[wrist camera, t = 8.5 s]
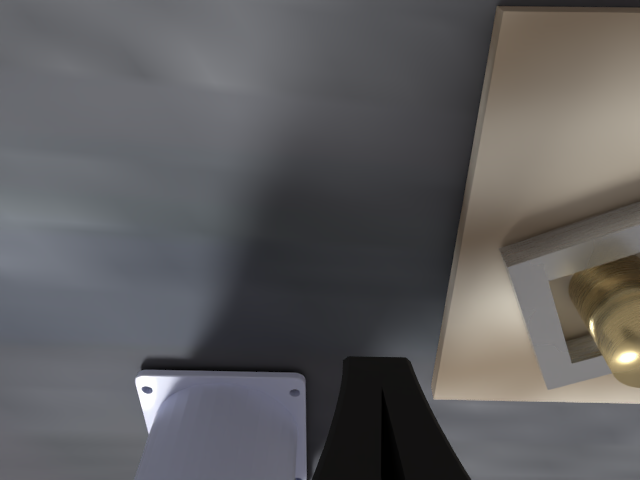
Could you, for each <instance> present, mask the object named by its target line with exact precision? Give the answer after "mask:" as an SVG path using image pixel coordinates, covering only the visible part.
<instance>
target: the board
mask: <svg viewBox="0 0 640 480" xmlns="http://www.w3.org/2000/svg"><path fill="white" fill-rule="evenodd" d="M639 201H640V8H636V7H537V6H497V8H496V14H495V20H494V25H493V31H492V37H491V43H490V48H489V54H488V60H487V66H486V72H485V77H484V83H483V89H482V95H481V100H480V106H479V112H478V118H477V124H476V129H475V135H474V141H473V147H472V153H471V158H470V164H469V170H468V176H467V181H466V187H465V193H464V199H463V205H462V210H461V216H460V222H459V228H458V233H457V239H456V245H455V251H454V257H453V262H452V268H451V274H450V280H449V285H448V291H447V297H446V303H445V309H444V314H443V320H442V326H441V332H440V338H439V343H438V349H437V355H436V361H435V366H434V372H433V378H432V384H431V388H432V393H433V398H434V399H443V400H492V401H541V402H590V403H638V404H640V388H635V387H630V386H627V385H625V384H623V383H621V382H619V381H618V380H617V379H616V378H615V377H614V375H613V374H608V375H604V376H600V377H597V378H593V379H589V380H585V381H581V382H578V383H574V384H570V385H566V386H562V387H559V388H555V389H551V390H548V389H547V387H546V385H545V382H544V380H543V377H542V375H541V373H540V370H539V367H538V364H537V361H536V358H535V355H534V352H533V349H532V346H531V343H530V340H529V337H528V334H527V331H526V328H525V325H524V322H523V319H522V316H521V313H520V310H519V307H518V304H517V301H516V299H515V296H514V293H513V290H512V287H511V284H510V281H509V278H508V275H507V272H506V269H505V266H504V263H503V260H502V257H501V254H500V251H499V248H502V247H504V246H507V245H510V244H513V243H516V242H519V241H522V240H525V239H528V238H531V237H534V236H537V235H540V234H543V233H546V232H549V231H552V230H555V229H558V228H561V227H564V226H567V225H570V224H573V223H576V222H579V221H582V220H585V219H588V218H591V217H594V216H597V215H600V214H603V213H606V212H609V211H612V210H615V209H618V208H621V207H624V206H627V205H630V204H633V203H636V202H639ZM634 255H636V256H638V257H639V258H640V253H637V254H634ZM573 275H574V273H573V274H570V275H567V276H563V277H560V278H557V279H554V280H551V281H548V282H549V285H550V289H551V292H552V296H553V299H554V303H555V306H556V310H557V313H558V317H559V320H560V324H561V327H562V331H563V335H564V338H565V342H566V341H569V340H573V339H576V338H580V337H583V336H587V335H590V333H589V331H588V329H587V327H586V326H585V324H584V322H583V320H582V319H581V317H580V315H579V313H578V311H577V310H576V308H575V306H574V304H573V303H572V301H571V299H570V297H569V292H568V287H569V283H570V280H571V278H572V276H573Z"/></svg>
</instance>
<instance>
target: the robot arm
mask: <svg viewBox="0 0 640 480" xmlns="http://www.w3.org/2000/svg"><path fill="white" fill-rule="evenodd" d="M135 384H136V388H137V392H138V395H139V399H140V403H141V407H142V410H143V414H144V418H145V422H146V426H147V429H148V433H149V436H148V439H147V442H146V445H145V448H144V451H143V454H142V457H141V460H140V463H139V466H138V469H137V472H136V475H135V478H134V480H307V449H306V380H305V377H304V376H303V375H301V374H299V373H289V372H239V371H189V370H141V371H139V372H138V373H137V375H136V378H135ZM147 386H148V387H147ZM293 389H296V390H293ZM312 480H471V478H470V477H469V475H468V474H467V472H466V471H465V469H464V467H463V466H462V464H461V462H460V461H459V459H458V457H457V456H456V454H455V452H454V451H453V449H452V447H451V445H450V443H449V442H448V440H447V438H446V436H445V434H444V433H443V431H442V429H441V427H440V425H439V424H438V422H437V420H436V418H435V416H434V414H433V412H432V410H431V408H430V406H429V404H428V402H427V400H426V398H425V396H424V393H423V391H422V389H421V387H420V384H419V382H418V380H417V377H416V375H415V372H414V370H413V367H412V364H411V362H410V361H409V360H408V359H407V358H403V357H351V356H349V357H347V358H346V359H344V360H343V375H342V383H341V388H340V393H339V398H338V402H337V406H336V410H335V414H334V417H333V420H332V424H331V427H330V430H329V434H328V437H327V440H326V443H325V446H324V449H323V452H322V454H321V457H320V459H319V462H318V465H317V467H316V470H315V473H314V475H313V478H312Z"/></svg>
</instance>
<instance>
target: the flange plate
mask: <svg viewBox="0 0 640 480" xmlns="http://www.w3.org/2000/svg"><path fill="white" fill-rule="evenodd" d="M499 251H500V254H501V257H502V260H503V263H504V266H505V269H506V272H507V275H508V278H509V281H510V284H511V287H512V290H513V293H514V296H515V299H516V301H517V304H518V307H519V310H520V313H521V316H522V319H523V322H524V325H525V328H526V331H527V334H528V337H529V340H530V343H531V346H532V349H533V352H534V355H535V358H536V361H537V364H538V367H539V370H540V373H541V375H542V377H543V380H544V382H545V385H546V387H547V389H548V390H551V389H555V388H559V387H562V386H566V385H570V384H574V383H578V382H581V381H585V380H589V379H593V378H597V377H600V376H604V375H608V374H612V372H611V370H610V368H609V367H608V365H607V363H606V361H605V359H604V358H603V356H602V354H601V352H600V351H599V349H598V347H597V345H596V343H595V342H594V340H593V338H592V336H591V335H587V336H583V337H580V338H576V339H573V340H569V341H566V342H565V338H564V335H563V331H562V327H561V324H560V320H559V317H558V313H557V310H556V306H555V303H554V299H553V296H552V292H551V289H550V285H549V282H548V281H551V280H554V279H557V278H560V277H563V276H567V275H570V274H573V273H576V272H579V271H583V270H586V269H589V268H592V267H595V266H599V265H602V264H605V263H608V262H611V261H615V260H618V259H621V258H624V257H627V256H631V255H634V254H637V253H640V201H639V202H636V203H633V204H630V205H627V206H624V207H621V208H618V209H615V210H612V211H609V212H606V213H603V214H600V215H597V216H594V217H591V218H588V219H585V220H582V221H579V222H576V223H573V224H570V225H567V226H564V227H561V228H558V229H555V230H552V231H549V232H546V233H543V234H540V235H537V236H534V237H531V238H528V239H525V240H522V241H519V242H516V243H513V244H510V245H507V246H504V247H502V248H499Z"/></svg>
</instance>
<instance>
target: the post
mask: <svg viewBox="0 0 640 480" xmlns="http://www.w3.org/2000/svg"><path fill="white" fill-rule="evenodd" d="M568 292H569V297H570V299H571V301H572V303H573V304H574V306H575V308H576V310H577V311H578V313H579V315H580V317H581V319H582V320H583V322H584V324H585V326H586V327H587V329H588V331H589V333H590V335H591V336H592V338H593V340H594V342H595V343H596V345H597V347H598V349H599V351H600V352H601V354H602V356H603V358H604V359H605V361H606V363H607V365H608V367H609V368H610V370H611V372H612V374H613V375H614V377H615V378H616V379H617V380H618V381H619V382H621V383H623V384H625V385H627V386H630V387H635V388H640V258H639V257H638V256H636V255H631V256H627V257H624V258H621V259H618V260H615V261H611V262H608V263H605V264H602V265H599V266H595V267H592V268H589V269H586V270H583V271H579V272H576V273H574V275H573V276H572V278H571V280H570V283H569V287H568Z"/></svg>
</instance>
